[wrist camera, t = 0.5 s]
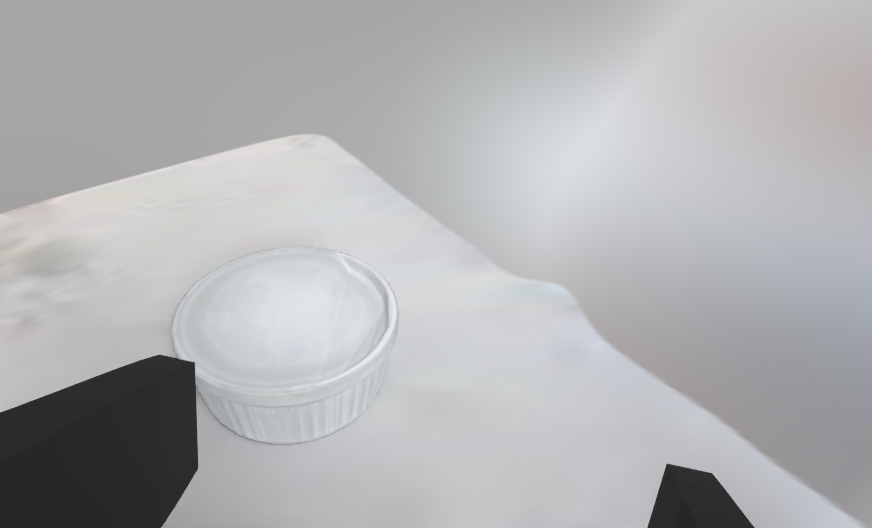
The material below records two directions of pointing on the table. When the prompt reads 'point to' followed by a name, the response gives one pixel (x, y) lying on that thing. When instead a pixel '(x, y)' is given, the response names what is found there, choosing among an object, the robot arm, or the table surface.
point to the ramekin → (288, 341)
